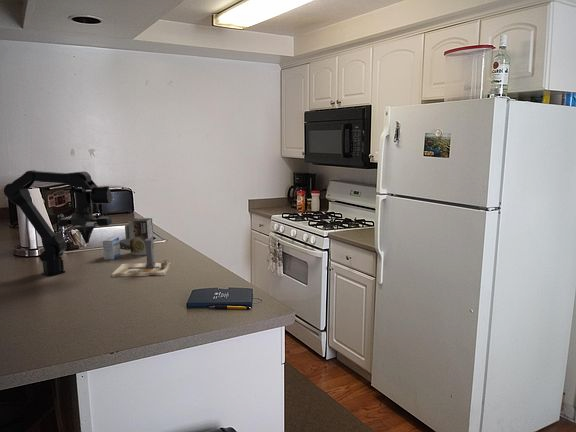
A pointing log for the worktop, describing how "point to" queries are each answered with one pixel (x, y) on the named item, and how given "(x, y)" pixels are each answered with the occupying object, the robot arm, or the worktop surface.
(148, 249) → the dark grey tall block
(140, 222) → the coffee box
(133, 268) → the switch panel
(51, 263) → the robot arm
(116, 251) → the medicine box
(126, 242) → the media streaming box
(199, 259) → the worktop surface
